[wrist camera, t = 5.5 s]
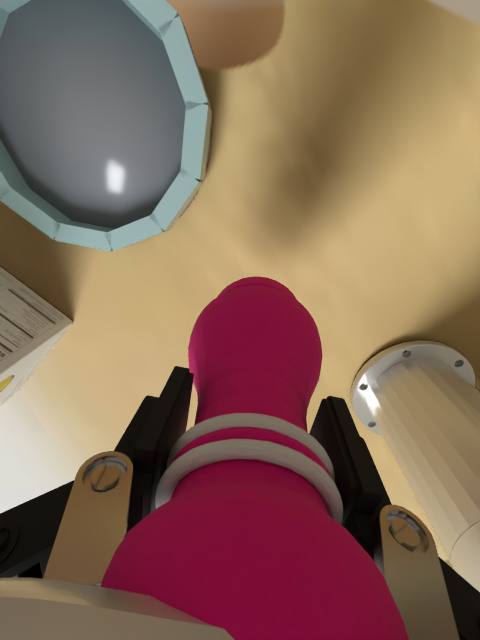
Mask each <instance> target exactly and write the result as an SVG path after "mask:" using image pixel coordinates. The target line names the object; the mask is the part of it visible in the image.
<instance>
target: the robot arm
mask: <svg viewBox="0 0 480 640" xmlns="http://www.w3.org/2000/svg"><path fill="white" fill-rule="evenodd" d="M193 377H194V373H190V372H189V368H183V367H178V366H175V367H174V369H173V371H172V373H171V375H170V377H169V379H168V381H167V383H166V385H165V387H164V389H163V391H162V393H161V395H160V397H159V398H158V397H153V396H148V395H147V396H146V397H145V398H144V400H143V402H142V403H141V405H140V407H139V409H138V410H137V412H136V414H135V415H134V417H133V419H132V421H131V422H130V424H129V426H128V427H127V429H126V431H125V433H124V434H123V436H122V438H121V439H120V441H119V443H118V444H117V446H116V448H115V450H114V451H108V452H102V453H99V454H97V455H94V456H92V457H91V458H90V459H88V460H87V461H85V463H84V464H83V465H82V466H81V467H80V468H79V470H78V472H77V474H76V477H75V480H74V481H71V482H69V483H67V484H65V485H63V486H60V487H58V488H56V489H54V490H52V491H49V492H47V493H45V494H43V495H40V496H38V497H36V498H34V499H32V500H29V501H27V502H25V503H23V504H21V505H18V506H16V507H14V508H12V509H10V510H7V511H5V512H3V513H1V514H0V640H234V639H233V638H232V637H231V636H230V634H229V633H228V632H227V631H226V630H225V629H223V628H220V627H217V626H214V625H211V624H208V623H205V622H203V621H201V620H199V619H197V618H195V617H192V616H190V615H188V614H186V613H184V612H182V611H180V610H178V609H175V608H173V607H171V606H169V605H167V604H165V603H163V602H161V601H159V600H158V599H156V598H154V597H152V596H150V595H145V594H139V593H134V592H128V591H123V590H117V589H110V588H104V587H101V582H102V580H103V577H104V574H105V572H106V570H107V568H108V566H109V564H110V562H111V560H112V558H113V555H114V553H115V551H116V550H117V548H118V546H119V545H120V544H121V542H122V541H123V540H124V537H125V535H126V533H127V532H128V531H129V530H130V529H132V528H133V527H134V526H135V525H136V524H138V523H139V522H140V521H141V520H142V519H144V518H145V517H146V516H148V515H149V514H150V513H152V512H153V511H154V510H156V503H155V496H156V491H157V486H158V484H159V481H160V479H161V477H162V475H163V474H164V473H165V471H166V468H167V460H168V456H169V453H170V451H171V449H172V447H173V445H174V444H175V443H176V441H177V440H178V439H179V438H180V437H181V436H182V435H183V434H184V433H185V431H186V426H187V420H188V413H189V406H190V399H191V392H192V384H193ZM475 385H476V383H475V374H474V371H473V368H472V366H471V365H470V363H469V362H468V360H467V359H466V358H465V357H464V356H462V355H461V354H460V353H459V352H457V351H456V350H455V349H453V348H452V347H450V346H447V345H445V344H442V343H439V342H434V341H420V340H417V341H410V342H404V343H401V344H397V345H394V346H392V347H389V348H387V349H385V350H383V351H381V352H380V353H378V354H377V355H375V356H374V357H372V358H371V359H370V360H369V361H368V362H367V363H366V364H365V365H364V366H363V367H362V368H361V370H360V371H359V372H358V374H357V375H356V377H355V379H354V381H353V384H352V388H351V403H352V407H353V410H354V412H355V414H356V416H357V418H358V419H359V421H360V422H361V423H362V424H363V425H364V426H365V427H366V428H367V429H369V430H371V431H372V432H374V433H376V434H379V435H382V436H383V437H384V439H385V441H386V443H387V445H388V446H389V448H390V450H391V452H392V454H393V456H394V458H395V460H396V462H397V463H398V465H399V467H400V469H401V471H402V473H403V475H404V477H405V478H406V480H407V482H408V484H409V486H410V488H411V490H412V492H413V494H414V495H415V497H416V499H417V501H418V503H419V505H420V507H421V509H422V510H423V512H424V514H425V516H426V518H427V520H428V522H429V524H430V526H431V527H432V529H433V531H434V533H435V535H436V537H437V539H438V541H439V543H440V544H441V546H442V548H443V550H444V552H445V554H446V556H447V558H448V559H449V561H450V563H451V565H452V567H453V568H454V570H453V569H452V568H451V567H450V566H449V565H448V564H447V563H445V562H444V561H443V560H442V559H441V558H440V557H438V553H437V549H436V545H435V542H434V540H433V537H432V534H431V533H430V531H429V530H428V528H427V527H426V525H425V524H424V523H423V522H422V521H421V520H420V519H419V518H418V517H417V516H416V515H414V514H413V513H412V512H411V511H409V510H407V509H405V508H403V507H401V506H397V505H392V504H391V502H390V499H389V497H388V495H387V492H386V490H385V488H384V485H383V483H382V480H381V478H380V476H379V473H378V471H377V469H376V466H375V464H374V462H373V459H372V457H371V455H370V452H369V450H368V448H367V445H366V443H365V441H364V439H363V438H362V437H360V436H359V434H358V431H357V429H356V426H355V424H354V421H353V419H352V417H351V414H350V412H349V409H348V407H347V405H346V402H345V400H344V399H343V398H338V397H332V396H328V397H327V399H322V401H321V404H320V407H319V409H318V412H317V415H316V417H315V420H314V423H313V425H312V428H311V431H310V433H309V434H310V435H311V436H313V437H314V438H315V439H316V440H317V441H318V442H319V444H320V445H321V446H322V447H323V448H324V449H325V451H326V453H327V455H328V456H329V458H330V460H331V463H332V465H333V469H334V475H335V484H336V487H337V489H338V491H339V493H340V496H341V500H342V504H343V518H342V524H341V525H342V526H343V527H344V528H345V529H347V530H348V532H349V533H350V534H351V535H352V536H353V537H354V538H355V540H356V541H357V542H358V543H359V544H360V545H361V546H362V547H363V549H364V550H365V551H366V552H367V553H368V554H369V555H370V557H371V558H372V559H373V561H374V562H375V564H376V565H377V567H378V568H379V570H380V571H381V573H382V574H383V576H384V579H385V581H386V583H387V585H388V588H389V590H390V592H391V594H392V596H393V599H394V601H395V603H396V605H397V608H398V610H399V612H400V614H401V617H402V619H403V621H404V624H405V628H406V631H407V635H408V638H409V640H480V392H479V391H478V390H477V389H475Z"/></svg>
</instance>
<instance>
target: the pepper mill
mask: <svg viewBox="0 0 480 640" xmlns="http://www.w3.org/2000/svg"><path fill="white" fill-rule="evenodd" d="M188 357H189V369H190V373H194V377H193V383H194V385H195V388H196V391H197V395H198V407H197V413H196V419H195V425H194V426H193V427H192V428H190V429H189V430H188V431H186V432H185V433H184V434H183V435H182V436H181V437H180V438H179V439H178V440H177V441H176V443H175V444H174V445H173V447H172V449H171V451H170V453H169V456H168V460H167V468H166V471H165V473H164V474H163V475H162V477H161V479H160V481H159V484H158V486H157V491H156V496H155V503H156V510H154V511H153V512H152V513H150V514H149V515H148V516H146V517H145V518H144V519H142V520H141V521H140V522H139V523H138V524H136V525H135V526H134V527H133V528H132V529H130V530H129V531H128V532H127V533H126V535H125V537H124V540H123V541H122V542H121V544H120V545H119V546H118V548H117V550H116V551H115V553H114V555H113V558H112V560H111V562H110V564H109V566H108V568H107V570H106V572H105V574H104V577H103V580H102V582H101V587H104V588H110V589H117V590H123V591H128V592H134V593H139V594H145V595H150V596H152V597H154V598H156V599H158V600H159V601H161V602H163V603H165V604H167V605H169V606H171V607H173V608H175V609H178V610H180V611H182V612H184V613H186V614H188V615H190V616H192V617H195V618H197V619H199V620H201V621H203V622H205V623H208V624H211V625H214V626H217V627H220V628H223V629H225V630H226V631H227V632H228V633H229V634H230V636H231V637H232V638H233V639H234V640H409V638H408V635H407V631H406V628H405V624H404V621H403V619H402V617H401V614H400V612H399V610H398V608H397V605H396V603H395V601H394V599H393V596H392V594H391V592H390V590H389V588H388V585H387V583H386V581H385V579H384V576H383V574H382V573H381V571H380V570H379V568H378V567H377V565H376V564H375V562H374V561H373V559H372V558H371V557H370V555H369V554H368V553H367V552H366V551H365V550H364V549H363V547H362V546H361V545H360V544H359V543H358V542H357V541H356V540H355V538H354V537H353V536H352V535H351V534H350V533H349V532H348V530H347V529H345V528H344V527H343V526H342V525H341V524H342V518H343V504H342V500H341V496H340V493H339V491H338V489H337V487H336V484H335V475H334V469H333V465H332V463H331V460H330V458H329V456H328V455H327V453H326V451H325V449H324V448H323V447H322V446H321V445H320V444H319V442H318V441H317V440H316V439H315V438H314V437H313V436H311V435H310V434H309V433H308V432H307V423H306V414H307V408H308V405H309V402H310V399H311V397H312V394H313V392H314V390H315V388H316V385H317V383H318V380H319V376H320V370H321V362H322V347H321V341H320V337H319V333H318V329H317V326H316V324H315V322H314V320H313V318H312V316H311V315H310V313H309V312H308V311H307V309H306V308H305V307H304V306H303V305H302V304H301V303H299V302H298V301H297V299H296V298H295V296H294V295H293V293H292V292H291V291H290V290H289V289H288V288H287V287H285V286H284V285H283V284H281V283H279V282H277V281H275V280H272V279H269V278H265V277H248V278H243V279H240V280H238V281H236V282H233V283H232V284H230V285H229V286H227V287H226V288H225V289H224V290H223V291H222V292H221V293H220V294H219V295H218V297H217V298H216V299H214V300H213V301H212V302H210V303H209V304H208V305H207V306H206V307H205V308H204V310H203V311H202V312H201V314H200V315H199V317H198V319H197V321H196V323H195V325H194V328H193V331H192V334H191V337H190V342H189V347H188Z"/></svg>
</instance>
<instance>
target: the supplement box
mask: <svg viewBox="0 0 480 640" xmlns="http://www.w3.org/2000/svg"><path fill="white" fill-rule="evenodd" d="M72 323H73V322H72V320H70V319H69V318H68V317H66V316H65V315H64V314H63V313H61V312H60V311H59V310H57V309H56V308H55V307H53V306H52V305H51V304H49V303H48V302H47V301H45V300H44V299H43V298H41V297H40V296H39V295H37V294H36V293H35V292H33V291H32V290H31V289H29V288H28V287H27V286H25V285H24V284H23V283H21V282H20V281H19V280H17V279H16V278H15V277H13V276H12V275H11V274H9V273H8V272H7V271H5V270H4V269H3V268H1V267H0V406H1V405H2V404H4V403H5V402H6V401H7V400H8V399H10V398H11V397H12V396H13V395H14V394H15V393H17V392H18V391H19V390H20V389H21V388H22V387H23V385H24V384H25V383H26V382H27V381H28V379H29V378H30V377H31V376H32V374H33V373H34V372H35V370H36V369H37V368H38V367H39V365H40V364H41V363H42V362H43V360H44V359H45V358H46V357H47V355H48V354H49V353H50V352H51V350H52V349H53V348H54V347H55V345H56V344H57V343H58V342H59V340H60V339H61V338H62V337H63V335H64V334H65V333H66V331H67V330H68V329H69V328H70V326H71V325H72Z"/></svg>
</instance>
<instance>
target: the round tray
mask: <svg viewBox="0 0 480 640" xmlns="http://www.w3.org/2000/svg"><path fill="white" fill-rule="evenodd" d="M211 109H212V108H211V105H210V102H209V99H208V96H207V93H206V90H205V86H204V82H203V79H202V76H201V73H200V71H199V68H198V66H197V62H196V59H195V56H194V53H193V50H192V47H191V44H190V41H189V38H188V35H187V32H186V30H185V27H184V25H183V22H182V20H181V18H180V16H179V14H178V12H177V11H176V10H175V9H174V8H173V7H172V6H171V5H170V3H169V2H168V1H167V0H0V198H1V199H0V201H1V202H2V203H4V204H5V205H6V206H8V207H9V208H10V209H12V210H13V211H15V212H16V213H17V214H19V215H20V216H21V217H23V218H24V219H25V220H27V221H28V222H30V223H31V224H32V225H34V226H35V227H36V228H38V229H39V230H40V231H42V232H43V233H45V234H46V235H47V236H49V237H50V238H51V239H53V240H54V239H55V240H56V241H59V242H64V243H69V244H74V245H80V246H85V247H90V248H95V249H101V250H106V251H115V250H118V249H121V248H123V247H126V246H128V245H131V244H134V243H136V242H139V241H141V240H144V239H147V238H149V237H152V236H154V235H157V234H160V233H162V232H165V231H167V230H169V229H170V228H172V226H173V225H174V223H175V222H176V221H177V219H178V218H179V217H181V216H182V214H183V213H184V212H185V211H186V209H187V208H188V207H189V206H190V204H191V203H192V201H193V199H194V198H195V196H196V195H197V193H198V190H199V188H200V187H201V186H202V184H203V182H202V181H203V180H204V178H205V172H206V169H207V165H208V160H209V154H210V145H211V118H212V112H211Z"/></svg>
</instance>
